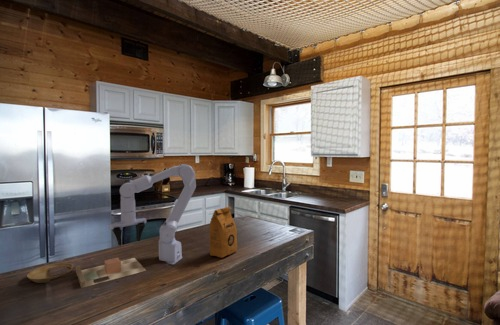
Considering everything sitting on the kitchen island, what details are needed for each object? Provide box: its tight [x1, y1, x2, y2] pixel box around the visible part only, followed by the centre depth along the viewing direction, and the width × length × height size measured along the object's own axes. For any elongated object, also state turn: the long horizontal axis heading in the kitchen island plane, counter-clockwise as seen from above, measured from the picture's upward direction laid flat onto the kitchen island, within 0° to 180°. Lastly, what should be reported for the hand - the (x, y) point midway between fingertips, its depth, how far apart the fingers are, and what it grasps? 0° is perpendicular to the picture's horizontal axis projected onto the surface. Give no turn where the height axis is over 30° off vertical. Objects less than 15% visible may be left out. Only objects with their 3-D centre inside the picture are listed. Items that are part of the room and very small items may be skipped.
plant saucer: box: [26, 262, 74, 284], centre depth 107 cm, size 15×15×3 cm
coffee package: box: [208, 206, 238, 258], centre depth 128 cm, size 10×12×22 cm
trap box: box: [75, 257, 147, 289], centre depth 108 cm, size 22×17×3 cm
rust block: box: [103, 257, 122, 274], centre depth 108 cm, size 5×5×4 cm
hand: (129, 242), depth 116 cm, fingers open, 7 cm apart
